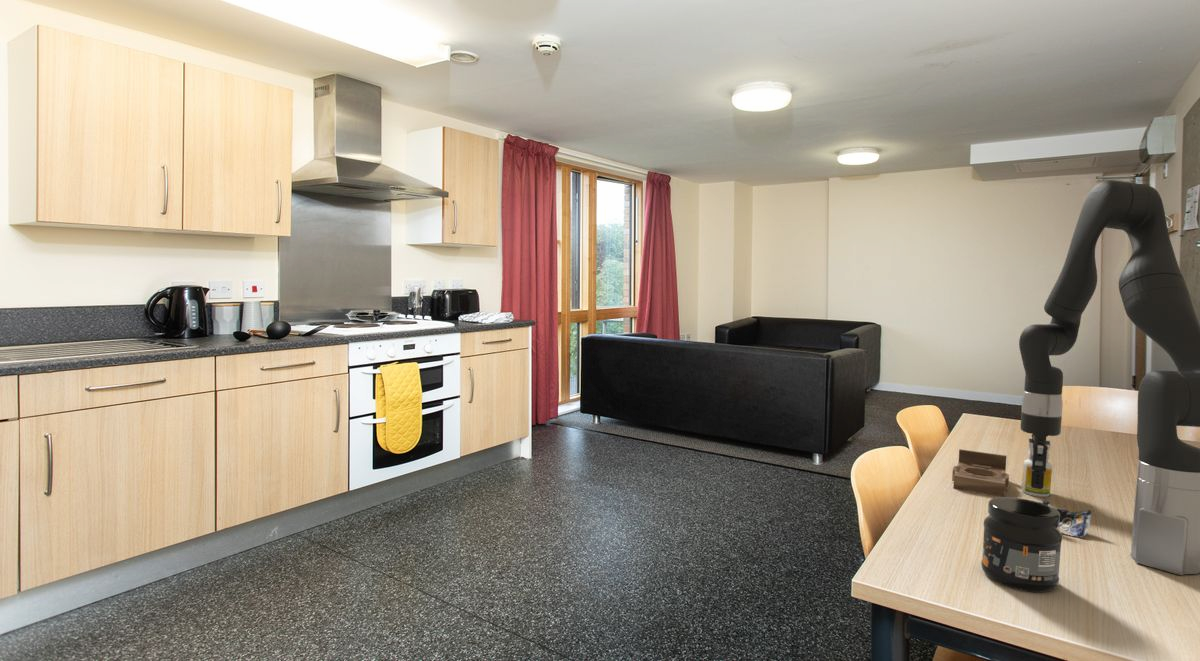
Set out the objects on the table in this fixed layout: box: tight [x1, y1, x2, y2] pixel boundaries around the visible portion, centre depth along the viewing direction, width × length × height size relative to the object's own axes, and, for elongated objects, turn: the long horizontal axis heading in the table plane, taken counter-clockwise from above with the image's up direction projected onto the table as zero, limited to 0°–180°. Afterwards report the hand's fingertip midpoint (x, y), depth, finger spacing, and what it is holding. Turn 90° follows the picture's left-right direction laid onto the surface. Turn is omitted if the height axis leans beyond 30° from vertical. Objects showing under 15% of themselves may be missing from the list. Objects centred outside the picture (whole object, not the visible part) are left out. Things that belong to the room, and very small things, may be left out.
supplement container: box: [980, 496, 1063, 593], centre depth 101 cm, size 10×10×12 cm
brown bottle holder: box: [951, 448, 1010, 497], centre depth 151 cm, size 15×11×6 cm
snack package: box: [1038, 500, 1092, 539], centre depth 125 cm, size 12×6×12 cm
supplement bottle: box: [1021, 450, 1053, 498], centre depth 144 cm, size 5×5×10 cm
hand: (1036, 483), depth 144 cm, fingers open, 6 cm apart
